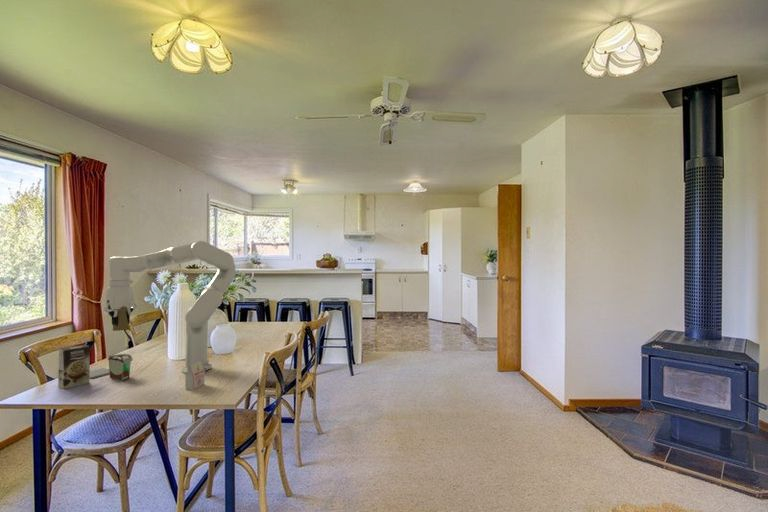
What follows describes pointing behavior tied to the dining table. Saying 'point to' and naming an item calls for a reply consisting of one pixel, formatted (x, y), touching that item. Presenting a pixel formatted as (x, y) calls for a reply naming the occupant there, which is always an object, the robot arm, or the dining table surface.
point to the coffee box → (74, 366)
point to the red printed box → (194, 376)
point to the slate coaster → (98, 373)
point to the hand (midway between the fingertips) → (120, 324)
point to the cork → (121, 320)
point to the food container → (119, 366)
